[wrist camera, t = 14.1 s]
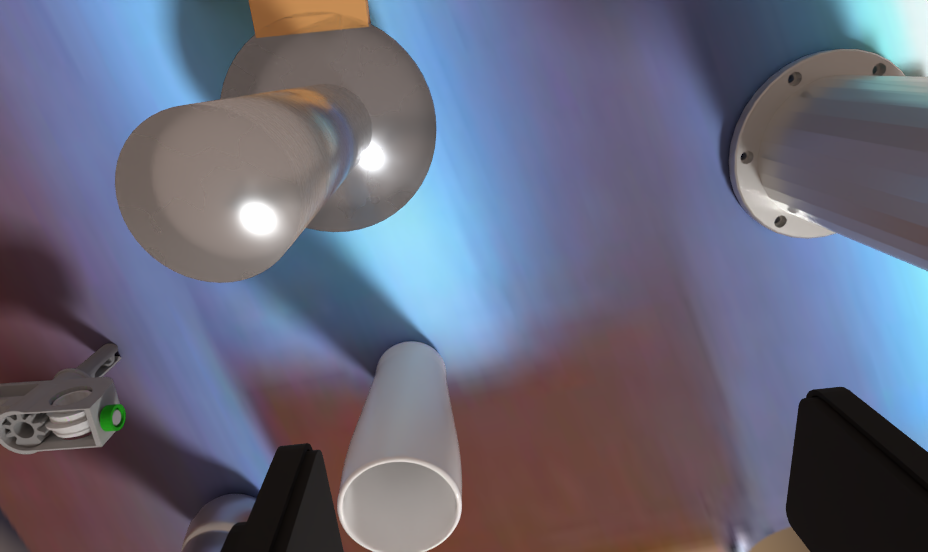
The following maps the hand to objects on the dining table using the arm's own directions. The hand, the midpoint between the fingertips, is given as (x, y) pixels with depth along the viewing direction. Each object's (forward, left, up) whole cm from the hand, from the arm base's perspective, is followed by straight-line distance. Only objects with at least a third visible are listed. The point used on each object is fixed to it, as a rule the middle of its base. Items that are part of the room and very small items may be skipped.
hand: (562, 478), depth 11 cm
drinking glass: (+6, +14, -31) cm, 34 cm away
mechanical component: (+28, +10, -31) cm, 43 cm away
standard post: (+8, -5, -30) cm, 32 cm away
